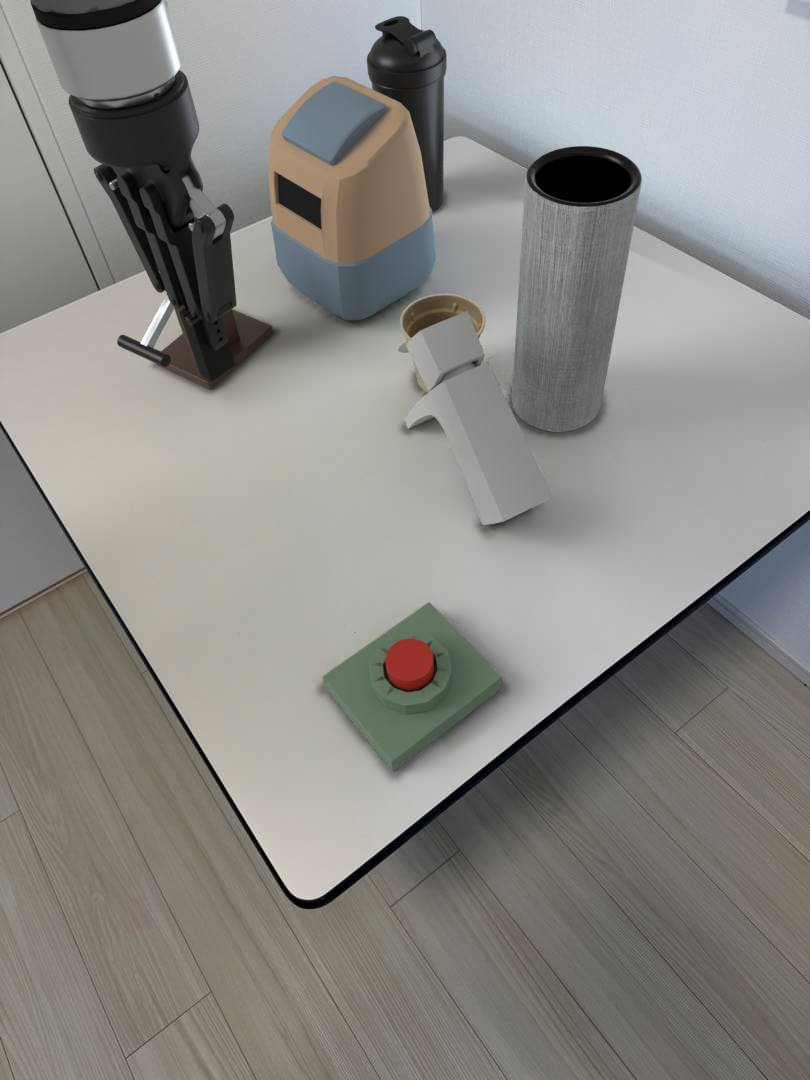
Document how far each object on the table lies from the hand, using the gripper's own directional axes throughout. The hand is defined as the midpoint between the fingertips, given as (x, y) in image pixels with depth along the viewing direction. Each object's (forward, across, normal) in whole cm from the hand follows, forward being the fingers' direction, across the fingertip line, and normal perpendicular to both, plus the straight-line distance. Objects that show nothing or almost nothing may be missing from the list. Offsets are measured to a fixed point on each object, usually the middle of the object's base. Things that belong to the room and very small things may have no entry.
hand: (218, 369), depth 70 cm
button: (+16, -25, +5) cm, 30 cm away
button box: (+20, -25, +5) cm, 32 cm away
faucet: (+20, -13, -18) cm, 30 cm away
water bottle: (+20, +26, -54) cm, 63 cm away
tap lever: (+11, +24, -10) cm, 28 cm away
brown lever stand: (+20, +24, -14) cm, 34 cm away
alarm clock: (+20, +19, -35) cm, 44 cm away
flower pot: (+20, -2, -27) cm, 34 cm away
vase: (+20, -14, -32) cm, 40 cm away
